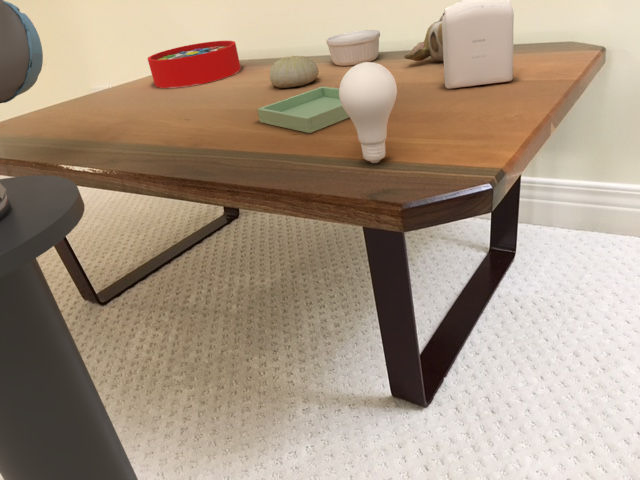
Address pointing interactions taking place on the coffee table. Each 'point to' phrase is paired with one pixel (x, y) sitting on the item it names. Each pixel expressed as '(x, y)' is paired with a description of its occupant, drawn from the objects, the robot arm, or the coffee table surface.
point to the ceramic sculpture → (429, 44)
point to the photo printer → (477, 43)
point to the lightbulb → (369, 105)
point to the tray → (305, 110)
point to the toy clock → (194, 64)
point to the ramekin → (354, 47)
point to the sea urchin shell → (293, 71)
